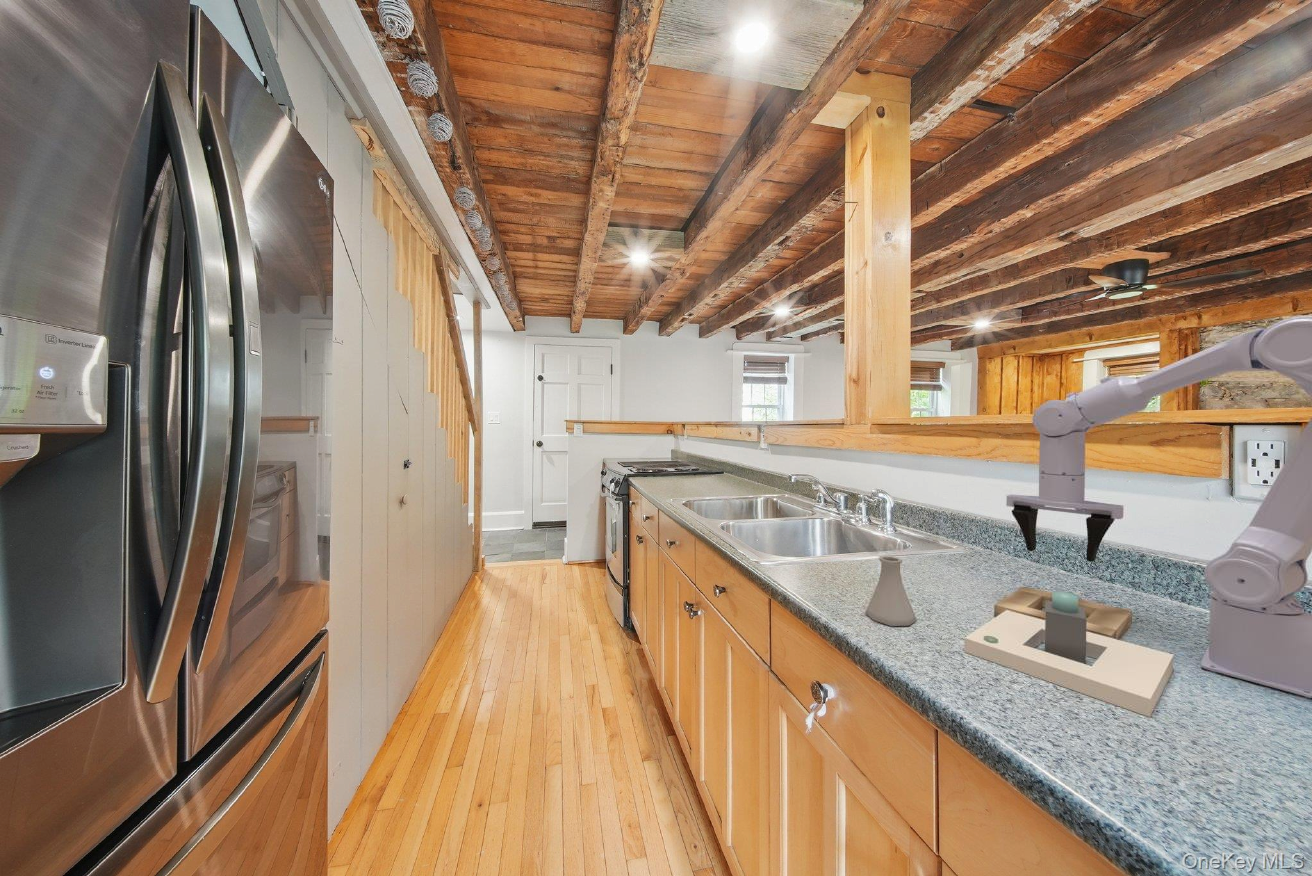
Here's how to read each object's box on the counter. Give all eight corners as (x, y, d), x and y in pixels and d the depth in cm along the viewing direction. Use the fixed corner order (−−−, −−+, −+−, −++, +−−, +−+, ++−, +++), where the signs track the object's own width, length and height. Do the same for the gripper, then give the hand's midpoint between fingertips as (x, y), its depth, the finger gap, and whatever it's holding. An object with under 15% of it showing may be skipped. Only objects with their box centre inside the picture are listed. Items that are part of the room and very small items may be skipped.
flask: (856, 613, 79) (856, 555, 78) (889, 606, 81) (889, 550, 81) (891, 630, 72) (892, 567, 72) (926, 623, 74) (926, 561, 74)
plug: (1082, 657, 63) (1084, 592, 63) (1085, 672, 59) (1086, 603, 59) (1044, 648, 66) (1045, 585, 65) (1045, 662, 62) (1045, 596, 62)
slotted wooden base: (1132, 623, 73) (1132, 610, 73) (1111, 649, 65) (1111, 635, 65) (1023, 597, 85) (1023, 586, 85) (994, 616, 76) (994, 604, 76)
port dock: (1173, 669, 60) (1173, 652, 60) (1149, 717, 50) (1150, 696, 50) (1006, 622, 74) (1006, 608, 74) (964, 651, 65) (964, 635, 65)
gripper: (1128, 475, 73) (1126, 560, 73) (1016, 468, 85) (1015, 542, 85) (1118, 479, 69) (1116, 569, 69) (1002, 471, 81) (1001, 548, 81)
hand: (1060, 554), depth 77 cm, fingers open, 7 cm apart
